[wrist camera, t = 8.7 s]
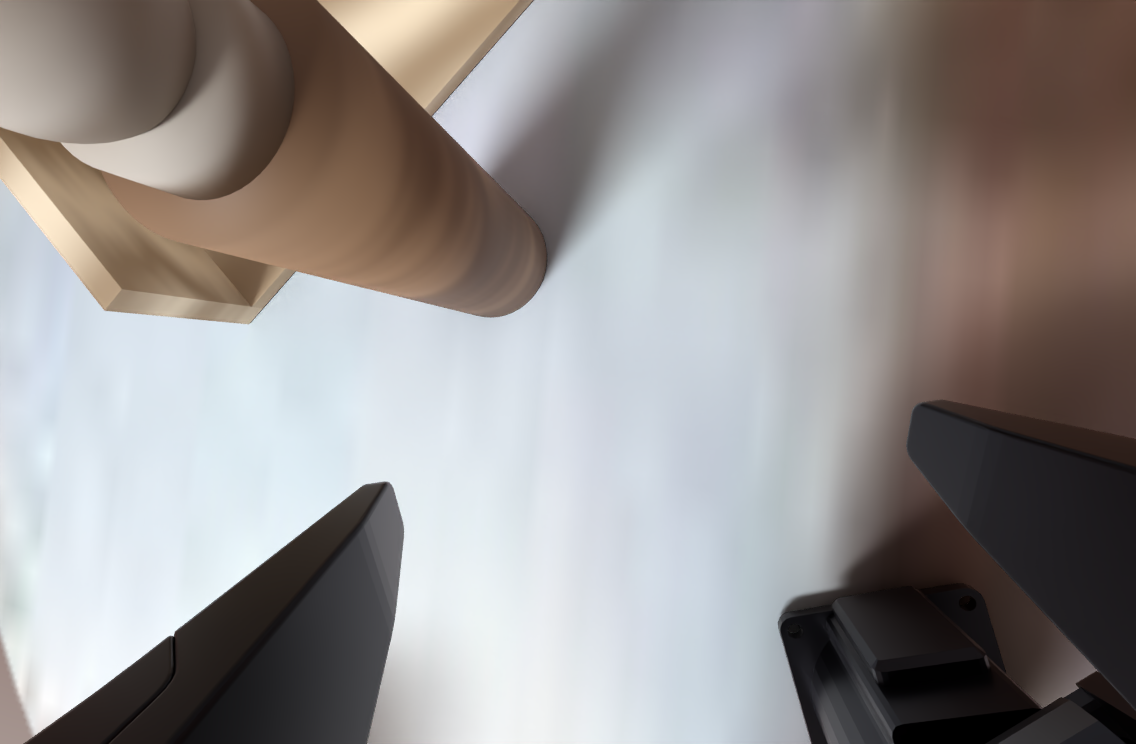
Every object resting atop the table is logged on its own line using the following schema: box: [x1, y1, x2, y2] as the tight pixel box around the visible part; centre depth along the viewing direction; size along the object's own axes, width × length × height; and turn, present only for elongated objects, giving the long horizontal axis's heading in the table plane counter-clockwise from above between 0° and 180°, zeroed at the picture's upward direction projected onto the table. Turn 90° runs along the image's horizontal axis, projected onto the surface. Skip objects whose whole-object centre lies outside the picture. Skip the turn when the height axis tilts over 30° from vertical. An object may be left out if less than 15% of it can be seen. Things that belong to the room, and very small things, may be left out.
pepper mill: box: [0, 0, 547, 317], centre depth 13 cm, size 5×5×17 cm
